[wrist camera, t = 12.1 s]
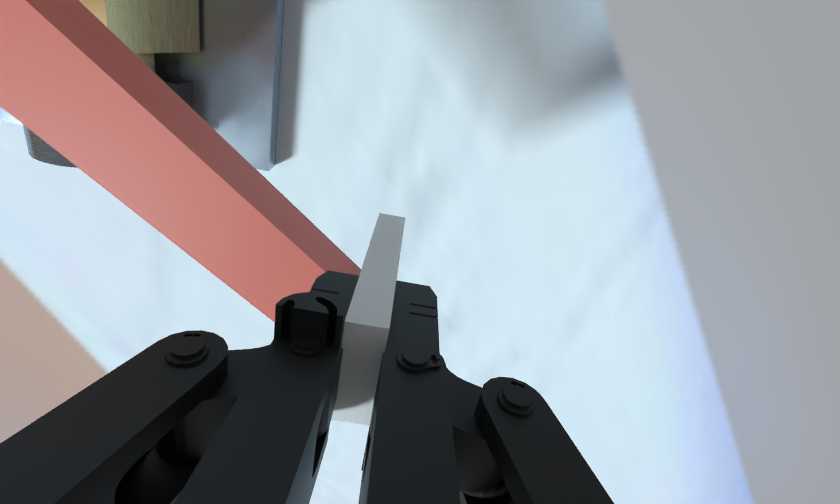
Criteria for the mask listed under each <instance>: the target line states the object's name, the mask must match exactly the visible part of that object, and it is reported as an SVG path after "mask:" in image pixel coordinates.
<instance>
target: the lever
mask: <svg viewBox="0 0 840 504" xmlns="http://www.w3.org/2000/svg"><path fill="white" fill-rule="evenodd" d="M0 106H1V107H2V108H3V109H4V110H6V111H7V112H8V113H9V114H11V115H12V116H13V117H15V118H16V119H17V120H18V121H20V122H21V123H22V124H23V125H25V126H26V127H27V128H29V129H30V130H31V131H32V132H34V133H35V134H36V135H37V136H39V137H40V138H41V139H43V140H44V141H45V142H46V143H48V144H49V145H50V146H51V147H53V148H54V149H55V150H56V151H58V152H59V153H60V154H62V155H63V156H64V157H65V158H67V159H68V160H69V161H70V162H72V163H73V164H74V165H76V166H77V167H78V168H79V169H81V170H82V171H83V172H84V173H86V174H87V175H88V176H89V177H91V178H92V179H93V180H95V181H96V182H97V183H98V184H100V185H101V186H102V187H103V188H105V189H106V190H107V191H109V192H110V193H111V194H112V195H114V196H115V197H116V198H117V199H119V200H120V201H121V202H123V203H124V204H125V205H126V206H128V207H129V208H130V209H131V210H133V211H134V212H135V213H136V214H138V215H139V216H140V217H142V218H143V219H144V220H145V221H147V222H148V223H149V224H150V225H152V226H153V227H154V228H156V229H157V230H158V231H159V232H161V233H162V234H163V235H164V236H166V237H167V238H168V239H170V240H171V241H172V242H173V243H175V244H176V245H177V246H178V247H180V248H181V249H182V250H183V251H185V252H186V253H187V254H189V255H190V256H191V257H192V258H194V259H195V260H196V261H197V262H199V263H200V264H201V265H203V266H204V267H205V268H206V269H208V270H209V271H210V272H211V273H213V274H214V275H215V276H216V277H218V278H219V279H220V280H222V281H223V282H224V283H225V284H227V285H228V286H229V287H230V288H232V289H233V290H234V291H236V292H237V293H238V294H239V295H241V296H242V297H243V298H244V299H246V300H247V301H248V302H250V303H251V304H252V305H253V306H255V307H256V308H257V309H258V310H260V311H261V312H262V313H263V314H265V315H266V316H267V317H269V318H270V319H271V320H272V321H274V322H275V307H276V303H278V302H279V301H280V300H281V299H282V298H284V297H287V296H289V295H292V294H296V293H303V292H309V291H310V290H311V287H312V285H313V284H314V282H315V280H316V278H317V277H318V276H320V275H322V274H323V273H325V272H326V271H328V270H330V271H336V272H342V273H347V274H353V275H359V276H360V272H361V269H360V268H359V267H358V266H357V265H356V264H355V263H354V262H353V261H352V260H351V259H349V258H348V257H347V256H346V255H345V254H344V253H343V252H342V251H341V250H340V249H339V248H338V247H337V246H336V245H335V244H334V243H333V242H332V241H331V240H330V239H328V238H327V237H326V236H325V235H324V234H323V233H322V232H321V231H320V230H319V229H318V228H317V227H316V226H315V225H314V224H313V223H312V222H311V221H310V220H309V219H308V218H306V217H305V216H304V215H303V214H302V213H301V212H300V211H299V210H298V209H297V208H296V207H295V206H294V205H293V204H292V203H291V202H290V201H289V200H288V199H287V198H285V197H284V196H283V195H282V194H281V193H280V192H279V191H278V190H277V189H276V188H275V187H274V186H273V185H272V184H271V183H270V182H269V181H268V180H267V179H266V178H265V177H263V176H262V175H261V174H260V173H259V172H258V171H257V170H256V169H255V168H254V167H253V166H252V165H251V164H250V163H249V162H248V161H247V160H246V159H245V158H244V157H242V156H241V155H240V154H239V153H238V152H237V151H236V150H235V149H234V148H233V147H232V146H231V145H230V144H229V143H228V142H227V141H226V140H225V139H224V138H223V137H222V136H220V135H219V134H218V133H217V132H216V131H215V130H214V129H213V128H212V127H211V126H210V125H209V124H208V123H207V122H206V121H205V120H204V119H203V118H202V117H201V116H199V115H198V114H197V113H196V112H195V111H194V110H193V109H192V108H191V107H190V106H189V105H188V104H187V103H186V102H185V101H184V100H183V99H182V98H181V97H180V96H179V95H177V94H176V93H175V92H174V91H173V90H172V89H171V88H170V87H169V86H168V85H167V84H166V83H165V82H164V81H163V80H162V79H161V78H160V77H159V76H158V75H156V74H155V73H154V72H153V71H152V70H151V69H150V68H149V67H148V66H147V65H146V64H145V63H144V62H143V61H142V60H141V59H140V58H139V57H138V56H137V55H136V54H134V53H133V52H132V51H131V50H130V49H129V48H128V47H127V46H126V45H125V44H124V43H123V42H122V41H121V40H120V39H119V38H118V37H117V36H116V35H115V34H113V33H112V32H111V31H110V30H109V29H108V28H107V27H106V26H105V25H104V24H103V23H102V22H101V21H100V20H99V19H98V18H97V17H96V16H95V15H94V14H93V13H91V12H90V11H89V10H88V9H87V8H86V7H85V6H84V5H83V4H82V3H81V2H80V1H79V0H0Z"/></svg>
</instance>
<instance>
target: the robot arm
mask: <svg viewBox="0 0 840 504" xmlns="http://www.w3.org/2000/svg"><path fill="white" fill-rule="evenodd" d="M404 222H405V218H404V217H398V216H393V215H387V214H382V213H380V214H379V217H378V220H377V223H376V226H375V229H374V232H373V235H372V238H371V241H370V245H369V248H368V251H367V254H366V257H365V260H364V263H363V266H362V269H361V272H360V276H359V275H353V274H347V273H342V272H336V271H330V270H328V271H326V272H325V273H323V274H322V275H320V276H318V277H317V278H316V280H315V282H314V284H313V285H312V287H311V290H310V291H309V292H303V293H296V294H292V295H289V296H287V297H284V298H282V299H281V300H280V301H279V302H278V303H276V307H275V329H274V340H273V341H272V343H271V345H267V346H264V347H261V348H254V349H243V350H228V346H227V344H226V342H225V340H224V339H223V338H222V337H220V336H218V335H217V334H215V333H211V332H206V331H185V332H180V333H176V334H172V335H170V336H168V337H166V338H163V339H161V340H159V341H157V342H156V343H154V344H153V345H151V346H150V347H148V348H147V349H145V350H144V351H142V352H140V353H139V354H137V355H136V356H134V357H133V358H131V359H130V360H128V361H127V362H125V363H124V364H122V365H120V366H119V367H117V368H116V369H114V370H113V371H111V372H110V373H108V374H107V375H105V376H104V377H102V378H100V379H99V380H97V381H96V382H95V383H93V384H91V385H90V386H88V387H87V388H85V389H84V390H82V391H80V392H79V393H77V394H76V395H74V396H73V397H71V398H70V399H68V400H67V401H65V402H64V403H62V404H61V405H59V406H57V407H56V408H54V409H53V410H51V411H50V412H48V413H47V414H45V415H44V416H42V417H40V418H39V419H37V420H36V421H34V422H33V423H31V424H30V425H28V426H27V427H25V428H24V429H22V430H21V431H19V432H17V433H16V434H14V435H13V436H11V437H10V438H8V439H7V440H5V441H4V442H2V443H0V504H309V502H310V498H311V495H312V491H313V488H314V485H315V481H316V478H317V475H318V471H319V468H320V464H321V461H322V458H323V454H324V451H325V448H326V444H327V440H328V432H329V425H330V421H331V418H332V420H337V421H343V422H350V423H357V424H364V425H370V427H369V432H368V437H367V443H366V448H365V453H364V459H363V464H362V469H361V470H363V473H362V480H361V488H360V496H359V504H614V503H613V501H612V500H611V498H610V497H609V495H608V494H607V492H606V491H605V489H604V488H603V486H602V485H601V483H600V482H599V480H598V479H597V477H596V476H595V474H594V473H593V471H592V470H591V468H590V467H589V465H588V464H587V462H586V461H585V459H584V458H583V456H582V455H581V453H580V452H579V450H578V449H577V447H576V446H575V444H574V443H573V441H572V440H571V438H570V437H569V435H568V434H567V432H566V431H565V429H564V428H563V426H562V425H561V423H560V422H559V420H558V419H557V417H556V416H555V415H554V413H553V412H552V410H551V409H550V407H549V406H548V404H547V403H546V401H545V400H544V398H543V397H542V396H541V395H540V394H539V393H538V392H537V391H536V390H535V389H534V388H532V387H531V386H529V385H528V384H526V383H524V382H522V381H519V380H516V379H514V378H507V377H497V378H493V379H490V380H489V381H487V382H486V383H485V384H484V385H483V388H481V387H479V386H476V385H474V384H472V383H469V382H467V381H465V380H463V379H461V378H459V377H457V376H456V375H454V374H453V373H452V372H450V371H449V370H448V369H447V368H446V364H445V362H444V359H443V357H442V356H441V355H440V353H439V332H438V319H437V318H438V310H437V296H436V295H435V293H434V292H433V291H432V289H431V288H430V286H425V285H419V284H414V283H408V282H402V281H396V279H397V272H398V265H399V258H400V251H401V243H402V236H403V229H404Z"/></svg>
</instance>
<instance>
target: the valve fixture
mask: <svg viewBox="0 0 840 504" xmlns="http://www.w3.org/2000/svg"><path fill="white" fill-rule="evenodd" d="M79 1H80V2H81V3H82V4H83V5H84V6H85V7H86V8H87V9H88V10H89V11H90V12H91V13H93V14H94V15H95V16H96V17H97V18H98V19H99V20H100V21H101V22H102V23H103V24H104V25H105V26H106V27H107V28H108V29H109V30H110V31H111V32H112V33H113V34H115V35H116V36H117V37H118V38H119V39H120V40H121V41H122V42H123V43H124V44H125V45H126V46H127V47H128V48H129V49H130V50H131V51H132V52H133V53H134V54H136V55H137V56H138V57H139V58H140V59H141V60H142V61H143V62H144V63H145V64H146V65H147V66H148V67H149V68H150V69H151V70H152V71H153V72H154V73H155V74H156V75H158V76H159V77H160V78H161V79H162V80H163V81H164V82H165V83H166V84H167V85H168V86H169V87H170V88H171V89H172V90H173V91H174V92H175V93H176V94H177V95H179V96H180V97H181V98H182V99H183V100H184V101H185V102H186V103H187V104H188V105H189V106H190V107H191V108H192V109H193V110H194V111H195V112H196V113H197V114H198V115H199V116H201V117H202V118H203V119H204V120H205V121H206V122H207V123H208V124H209V125H210V126H211V127H212V128H213V129H214V130H215V131H216V132H217V133H218V134H219V135H220V136H222V137H223V138H224V139H225V140H226V141H227V142H228V143H229V144H230V145H231V146H232V147H233V148H234V149H235V150H236V151H237V152H238V153H239V154H240V155H241V156H242V157H244V158H245V159H246V160H247V161H248V162H249V163H250V164H251V165H252V166H253V167H254V168H255V169H260V170H266V171H269V170H270V169H271V168H273V167H274V165H275V147H276V130H277V112H278V94H279V76H280V59H281V41H282V23H283V5H284V0H79ZM0 121H5V122H11V123H16V124H21V125H23V124H22V123H21V122H20V121H18V120H17V119H16V118H15V117H13V116H12V115H11V114H9V113H8V112H7V111H6V110H4V109H3V108H2V107H1V106H0ZM23 128H24V132H25V137H26V142H27V146H28V151H29V154H30V156H31V157H33V158H34V159H36V160H39V161H42V162H45V163H49V164H54V165H59V166H66V167H77V166H76V165H74V164H73V163H72V162H70V161H69V160H68V159H67V158H65V157H64V156H63V155H62V154H60V153H59V152H58V151H56V150H55V149H54V148H53V147H51V146H50V145H49V144H48V143H46V142H45V141H44V140H43V139H41V138H40V137H39V136H37V135H36V134H35V133H34V132H32V131H31V130H30V129H29V128H27V127H26V126H25V125H23ZM77 168H78V167H77Z"/></svg>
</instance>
